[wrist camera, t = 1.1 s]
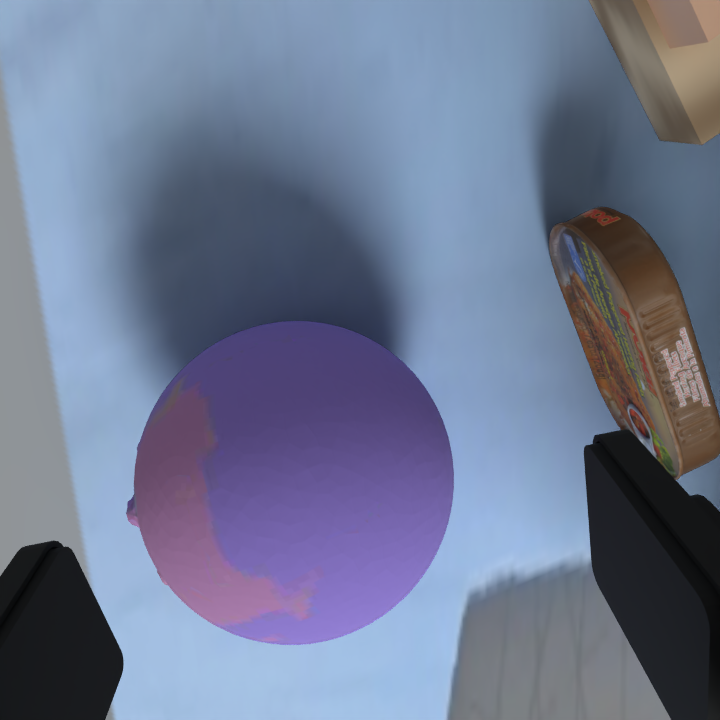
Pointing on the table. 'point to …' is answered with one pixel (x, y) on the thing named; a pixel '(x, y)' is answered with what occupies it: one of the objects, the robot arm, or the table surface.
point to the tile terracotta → (687, 20)
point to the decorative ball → (293, 482)
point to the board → (665, 72)
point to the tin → (637, 336)
